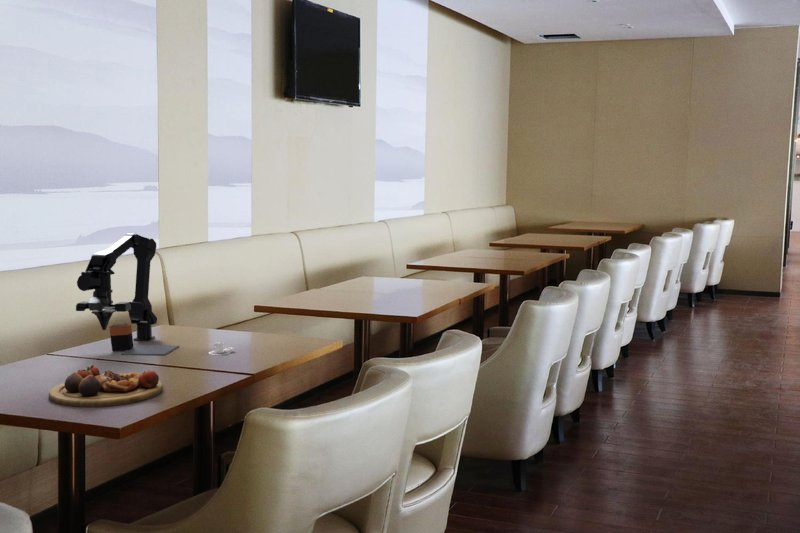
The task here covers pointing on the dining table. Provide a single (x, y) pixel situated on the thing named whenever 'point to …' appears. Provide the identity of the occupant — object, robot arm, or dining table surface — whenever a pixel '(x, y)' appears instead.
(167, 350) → the mat
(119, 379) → the wooden plate with food
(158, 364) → the dining table surface
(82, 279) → the robot arm
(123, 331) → the battery
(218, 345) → the teacup and saucer
